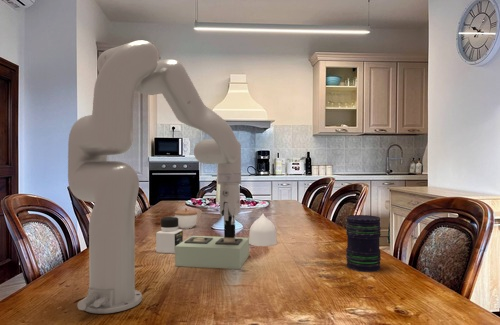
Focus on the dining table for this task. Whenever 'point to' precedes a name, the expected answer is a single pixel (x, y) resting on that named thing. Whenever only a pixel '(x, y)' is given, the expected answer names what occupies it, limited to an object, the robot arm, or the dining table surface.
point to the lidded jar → (186, 218)
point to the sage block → (212, 252)
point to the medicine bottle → (168, 235)
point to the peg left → (199, 239)
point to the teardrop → (262, 232)
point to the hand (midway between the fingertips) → (229, 236)
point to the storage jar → (363, 243)
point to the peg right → (229, 239)
